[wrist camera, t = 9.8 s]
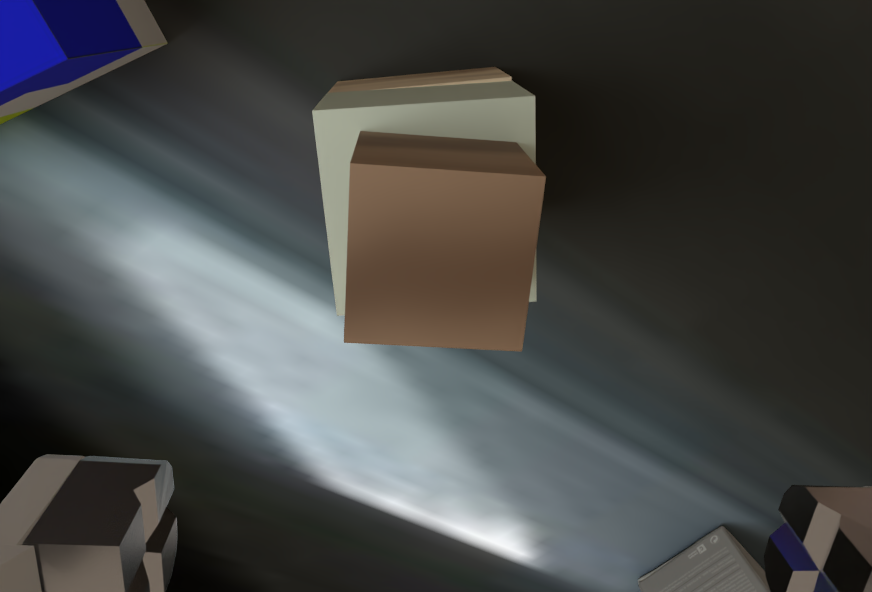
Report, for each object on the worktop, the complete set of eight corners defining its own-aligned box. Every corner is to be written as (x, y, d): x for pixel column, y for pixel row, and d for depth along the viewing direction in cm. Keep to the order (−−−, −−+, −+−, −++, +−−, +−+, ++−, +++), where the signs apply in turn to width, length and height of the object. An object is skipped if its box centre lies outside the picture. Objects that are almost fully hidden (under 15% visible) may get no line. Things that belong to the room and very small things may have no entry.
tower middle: (327, 92, 27) (312, 110, 22) (511, 80, 27) (535, 95, 22) (346, 267, 29) (336, 315, 25) (515, 255, 30) (536, 301, 25)
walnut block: (360, 130, 22) (350, 163, 18) (516, 141, 23) (546, 176, 18) (354, 278, 24) (343, 342, 20) (499, 286, 25) (521, 351, 20)
